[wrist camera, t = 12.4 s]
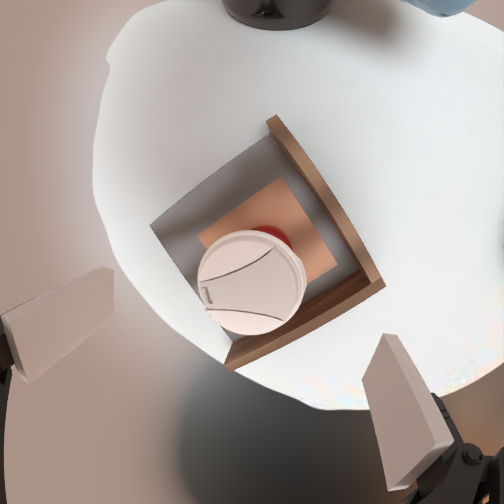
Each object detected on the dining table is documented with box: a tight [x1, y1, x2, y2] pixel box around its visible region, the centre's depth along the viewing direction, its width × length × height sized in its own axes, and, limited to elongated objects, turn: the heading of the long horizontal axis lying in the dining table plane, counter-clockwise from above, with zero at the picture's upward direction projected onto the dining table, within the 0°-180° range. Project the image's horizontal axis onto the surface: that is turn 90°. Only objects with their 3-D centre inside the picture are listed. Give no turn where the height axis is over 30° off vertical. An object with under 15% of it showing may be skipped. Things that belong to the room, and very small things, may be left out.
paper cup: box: [198, 225, 307, 335], centre depth 24 cm, size 8×8×14 cm
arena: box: [150, 115, 386, 372], centre depth 29 cm, size 20×20×6 cm
